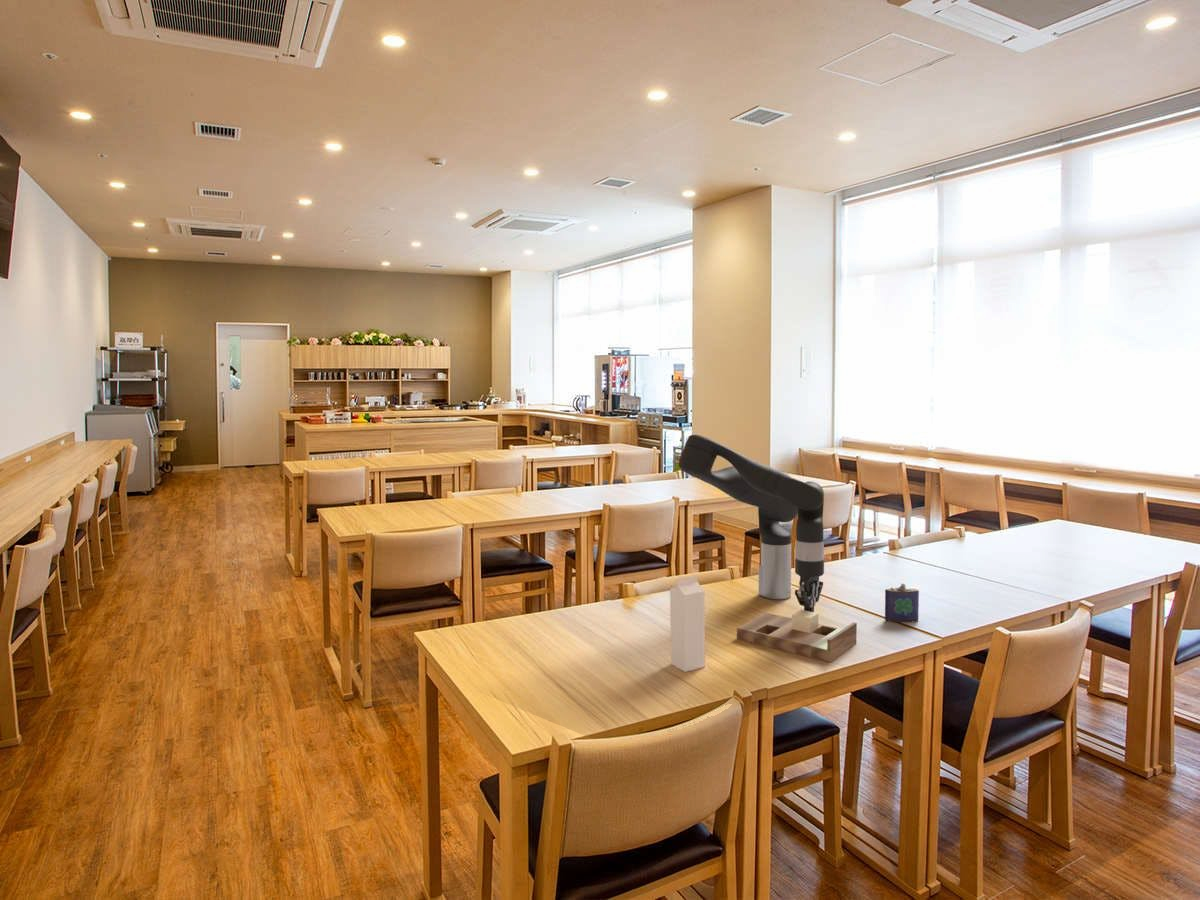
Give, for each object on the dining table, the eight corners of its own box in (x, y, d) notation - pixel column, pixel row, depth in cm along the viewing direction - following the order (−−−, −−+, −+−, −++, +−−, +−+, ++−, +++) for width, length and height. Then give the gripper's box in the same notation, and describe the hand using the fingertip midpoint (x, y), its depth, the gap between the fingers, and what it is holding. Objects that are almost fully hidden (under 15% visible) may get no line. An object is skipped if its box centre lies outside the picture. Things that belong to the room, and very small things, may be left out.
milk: (705, 667, 177) (705, 578, 175) (684, 672, 174) (684, 582, 172) (690, 658, 182) (690, 572, 180) (670, 663, 179) (669, 576, 177)
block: (792, 629, 193) (792, 614, 193) (800, 624, 197) (800, 609, 197) (809, 633, 190) (810, 618, 190) (818, 627, 194) (818, 613, 193)
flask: (916, 618, 208) (917, 582, 207) (920, 622, 205) (921, 585, 204) (883, 619, 209) (884, 582, 208) (887, 622, 206) (887, 585, 205)
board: (736, 638, 195) (736, 618, 195) (766, 622, 207) (766, 604, 207) (830, 662, 178) (830, 640, 178) (856, 643, 190) (856, 622, 190)
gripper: (812, 563, 189) (811, 629, 191) (833, 553, 199) (832, 616, 201) (785, 559, 194) (784, 623, 195) (807, 550, 204) (806, 610, 205)
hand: (809, 619), depth 198 cm, fingers closed
